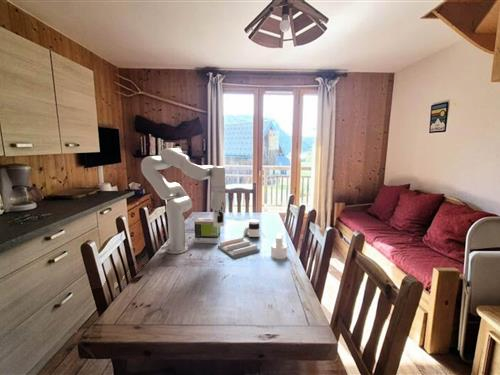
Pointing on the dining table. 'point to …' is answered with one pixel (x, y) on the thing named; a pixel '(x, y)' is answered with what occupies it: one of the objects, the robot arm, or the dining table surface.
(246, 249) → the grey board with rails
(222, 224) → the eye dropper bottle
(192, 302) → the dining table surface
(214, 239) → the tea box
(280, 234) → the base with upright slab
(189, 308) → the dining table surface
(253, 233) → the spread jar
